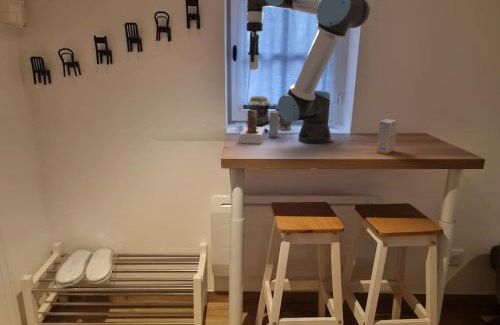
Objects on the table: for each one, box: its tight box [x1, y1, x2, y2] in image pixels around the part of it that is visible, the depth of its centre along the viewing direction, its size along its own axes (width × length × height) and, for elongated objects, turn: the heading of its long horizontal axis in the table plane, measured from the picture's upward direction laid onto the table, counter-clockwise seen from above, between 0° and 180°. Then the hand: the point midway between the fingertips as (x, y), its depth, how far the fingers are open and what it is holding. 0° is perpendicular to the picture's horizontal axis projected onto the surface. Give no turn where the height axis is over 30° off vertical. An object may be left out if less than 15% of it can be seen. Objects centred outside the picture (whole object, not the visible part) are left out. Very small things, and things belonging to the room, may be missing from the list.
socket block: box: [239, 125, 266, 145], centre depth 174 cm, size 10×20×4 cm, turn 174°
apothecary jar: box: [246, 95, 271, 133], centre depth 191 cm, size 12×12×18 cm
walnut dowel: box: [247, 109, 257, 134], centre depth 168 cm, size 4×4×14 cm
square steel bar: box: [268, 110, 280, 138], centre depth 179 cm, size 4×4×12 cm
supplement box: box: [376, 118, 399, 155], centre depth 151 cm, size 8×5×13 cm, turn 141°
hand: (254, 69), depth 177 cm, fingers open, 13 cm apart
